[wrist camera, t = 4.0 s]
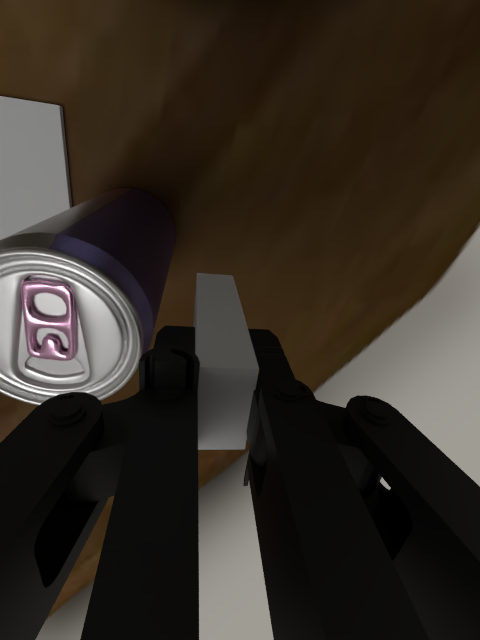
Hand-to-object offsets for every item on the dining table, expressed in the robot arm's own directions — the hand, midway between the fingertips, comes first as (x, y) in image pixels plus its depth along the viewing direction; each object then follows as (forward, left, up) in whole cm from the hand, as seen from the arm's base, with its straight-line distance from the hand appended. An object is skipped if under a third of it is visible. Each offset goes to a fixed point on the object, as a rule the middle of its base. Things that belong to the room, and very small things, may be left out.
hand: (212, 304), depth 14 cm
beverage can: (0, -5, -12) cm, 13 cm away
